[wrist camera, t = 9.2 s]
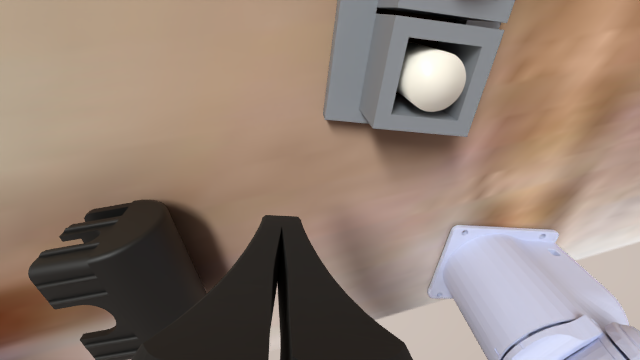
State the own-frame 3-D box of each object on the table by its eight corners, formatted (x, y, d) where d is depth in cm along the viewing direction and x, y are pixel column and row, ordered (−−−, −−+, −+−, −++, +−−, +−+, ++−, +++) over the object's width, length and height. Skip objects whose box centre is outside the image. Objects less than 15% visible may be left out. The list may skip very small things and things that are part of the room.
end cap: (223, 286, 27) (205, 363, 22) (141, 300, 27) (101, 381, 22) (181, 186, 23) (143, 250, 17) (82, 204, 23) (9, 274, 17)
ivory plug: (434, 45, 19) (474, 55, 15) (422, 92, 20) (455, 114, 16) (389, 39, 19) (416, 48, 15) (379, 88, 20) (402, 109, 16)
